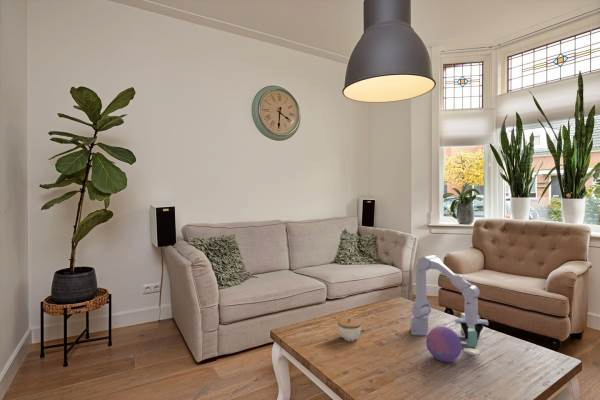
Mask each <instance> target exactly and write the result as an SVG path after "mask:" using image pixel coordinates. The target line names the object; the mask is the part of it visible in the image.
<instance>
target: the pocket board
mask: <svg viewBox="0 0 600 400" xmlns="http://www.w3.org/2000/svg"><path fill="white" fill-rule="evenodd" d="M457 335H458V337H459V338H460V341H461V345H462V348H463V349H464V348H474V349H476V346H468V345H467V343H466V338H465V335H463V334H457Z"/></svg>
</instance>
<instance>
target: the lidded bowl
mask: <svg viewBox="0 0 600 400" xmlns="http://www.w3.org/2000/svg"><path fill="white" fill-rule="evenodd" d="M337 329H338V333H339V336H340V337H341V338H342V339H343V338H344V339H346V340H355V339H356V340H357V339H358V338H359V337H360V336H361V332H362V321H361V319H359V318H356V317H348V316H347V317H346V316H345V317H342V318H339V319H338V320H337ZM344 339H343V340H344ZM346 340H345V341H346ZM356 340H355V341H356Z"/></svg>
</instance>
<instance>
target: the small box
mask: <svg viewBox="0 0 600 400" xmlns="http://www.w3.org/2000/svg"><path fill="white" fill-rule="evenodd" d="M460 318H465V312H460ZM478 319H481V317H480V315H478ZM467 326H468V328H472V329H475V324H467ZM460 332H461V333H462V335H463V334H464V331H463V328H462V326H461V325H460ZM464 335H465V334H464ZM480 335H481V333H480V334H479V336H480Z"/></svg>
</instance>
